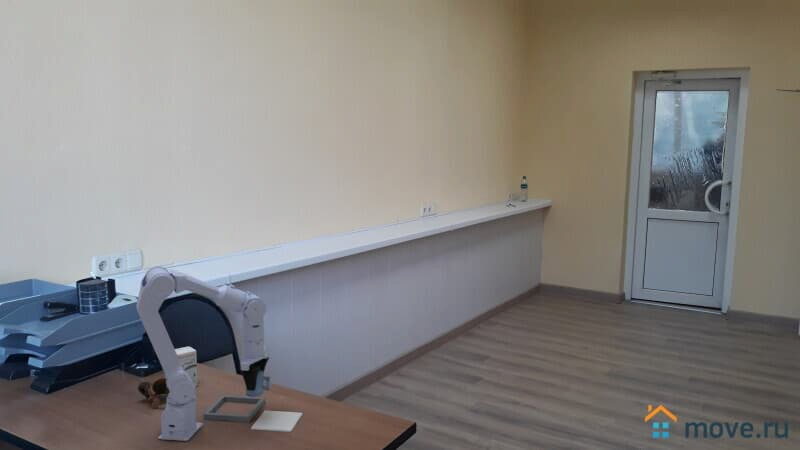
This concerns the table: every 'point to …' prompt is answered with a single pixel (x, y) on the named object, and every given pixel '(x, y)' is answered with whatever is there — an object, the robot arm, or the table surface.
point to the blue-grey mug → (259, 385)
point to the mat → (277, 421)
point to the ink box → (188, 361)
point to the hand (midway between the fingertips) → (254, 386)
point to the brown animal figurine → (155, 391)
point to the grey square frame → (232, 417)
